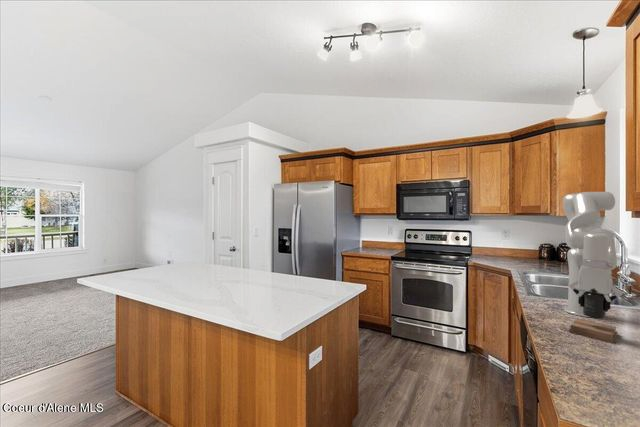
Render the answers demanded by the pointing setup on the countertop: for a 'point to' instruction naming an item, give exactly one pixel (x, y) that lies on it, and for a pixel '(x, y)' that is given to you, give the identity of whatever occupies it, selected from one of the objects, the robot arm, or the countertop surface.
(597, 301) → the supplement bottle
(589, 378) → the countertop surface
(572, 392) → the countertop surface
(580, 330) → the walnut pedestal
